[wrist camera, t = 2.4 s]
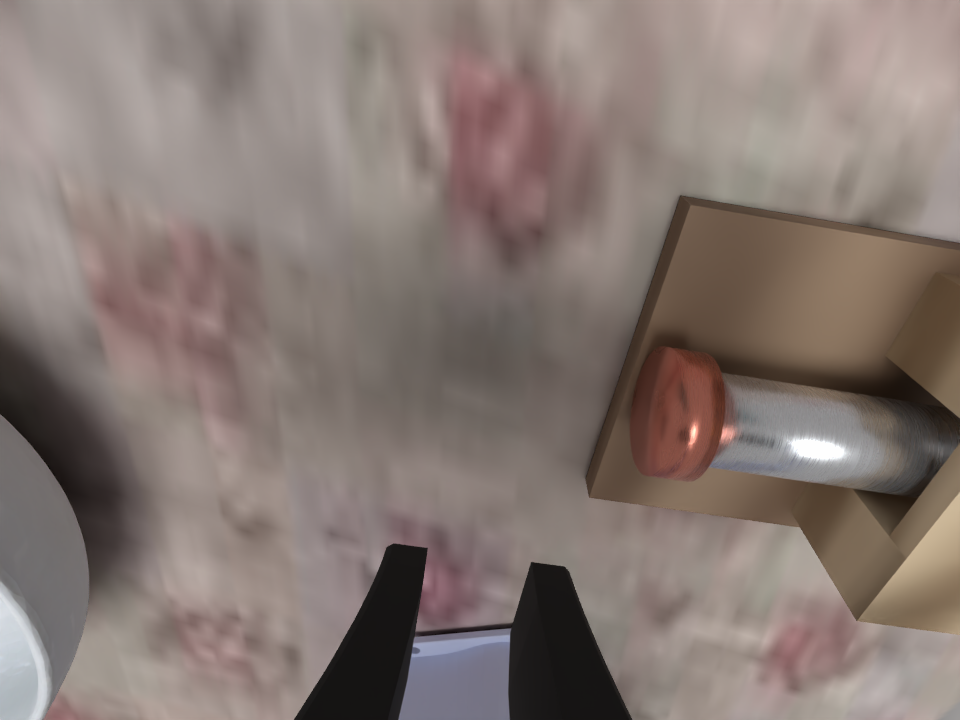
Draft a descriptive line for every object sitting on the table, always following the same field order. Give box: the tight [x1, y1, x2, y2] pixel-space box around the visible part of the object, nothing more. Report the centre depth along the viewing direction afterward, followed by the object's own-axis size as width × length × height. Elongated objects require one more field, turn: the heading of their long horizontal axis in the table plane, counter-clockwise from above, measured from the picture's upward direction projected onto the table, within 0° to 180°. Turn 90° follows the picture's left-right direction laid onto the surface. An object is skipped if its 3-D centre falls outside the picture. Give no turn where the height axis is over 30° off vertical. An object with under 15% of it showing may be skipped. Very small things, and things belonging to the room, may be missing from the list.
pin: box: [630, 346, 960, 498], centre depth 17 cm, size 10×4×4 cm, turn 81°
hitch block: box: [586, 196, 960, 635], centre depth 17 cm, size 15×11×6 cm
